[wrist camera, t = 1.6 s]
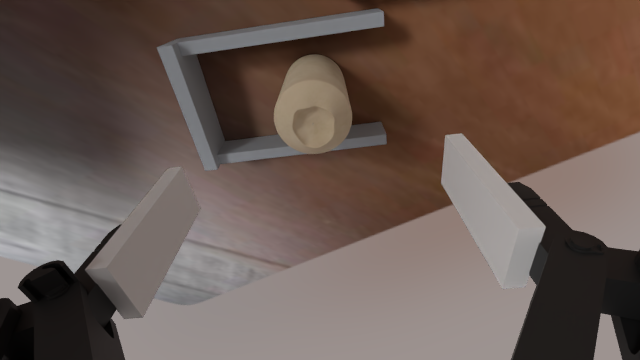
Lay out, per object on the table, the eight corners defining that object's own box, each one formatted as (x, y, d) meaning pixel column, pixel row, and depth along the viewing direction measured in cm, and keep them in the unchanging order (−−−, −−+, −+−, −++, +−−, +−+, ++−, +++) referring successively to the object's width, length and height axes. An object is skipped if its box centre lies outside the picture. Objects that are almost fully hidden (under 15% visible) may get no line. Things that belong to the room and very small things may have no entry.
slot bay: (217, 151, 33) (205, 170, 29) (177, 38, 27) (156, 47, 24) (381, 130, 32) (388, 149, 28) (377, 8, 26) (386, 12, 22)
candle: (273, 76, 29) (253, 117, 20) (323, 40, 27) (324, 68, 19) (307, 123, 31) (302, 176, 23) (355, 92, 29) (369, 138, 21)
